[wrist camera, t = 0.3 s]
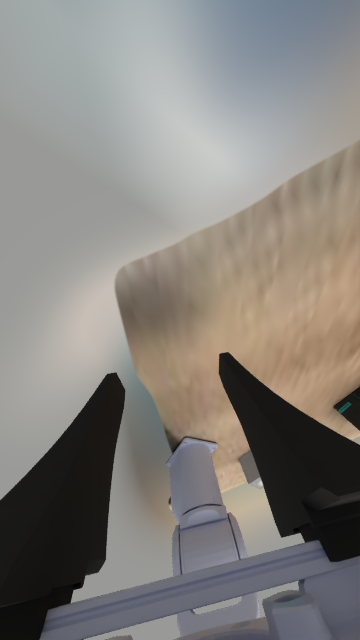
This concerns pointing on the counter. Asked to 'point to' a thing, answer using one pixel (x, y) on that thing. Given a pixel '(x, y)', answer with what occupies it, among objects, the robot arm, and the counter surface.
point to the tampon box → (351, 408)
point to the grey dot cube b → (251, 470)
